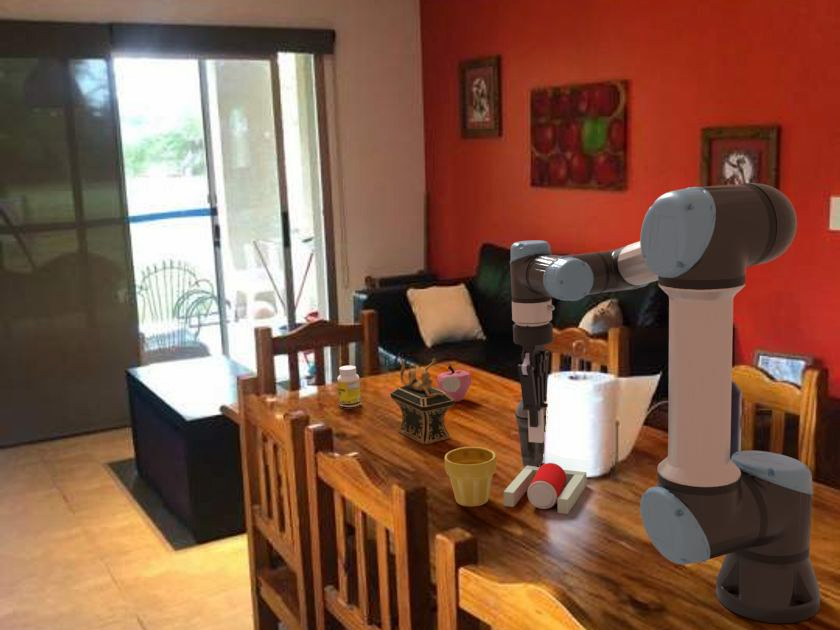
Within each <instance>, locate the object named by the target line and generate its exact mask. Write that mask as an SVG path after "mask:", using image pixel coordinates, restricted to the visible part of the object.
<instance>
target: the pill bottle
mask: <svg viewBox="0 0 840 630" xmlns="http://www.w3.org/2000/svg"><path fill="white" fill-rule="evenodd" d="M336 379H337V380H336V381H337V394H338V395H337V396H338V406H339V405H340V406H345V407H352V406H357V405H359V404H360V405H361V403H362V398H361V384H360V376H359V374H357V367H356V366H355V365H343V366H339V375H338V376H337V378H336ZM340 406H339V407H340Z"/></svg>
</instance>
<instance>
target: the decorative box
mask: <svg viewBox="0 0 840 630" xmlns="http://www.w3.org/2000/svg"><path fill="white" fill-rule="evenodd" d="M397 357H398V358H399V359H400V361H399V364H400V365H401V368H400V373H399V379H400V381H401V383H402V385H403V386H399V387H397V388H396V389H393V391H391V392H390V397H391V399H392V400H393V402H395V403H396V404H397V405H398V406H399V408H400V410H401V415H402V417H401V422H400V425H399V427H398V429H397V432H398V433H400V434H402V435H404V436H406V437H407V438H409V439H412V440H414V441H416V442H418V443H419V444H422V445H429V443H430V444H433V442H434V443H436V442H437V443H438V442H441V441H445V440H448V439H450V438H451V436H450V433H449V431H448V430H447V427H446V425H445V416H446V413H447V412H448V411H449V410H450V409H451V408H452V407H453V406H455V403H456V402H455V401H454V399H453V398H452V397H450V396H449V395H448V394H447V393H445V392H443V391H441V390H440V389H439V388H435V387H432V384H433V379H431V375H430V372H429V369H430V368H431V367H432V365H434V364H436V363H437V362H438V360H436V357H433V359H432V360H431V363H428V365H427V366H425V368H424V371H423V372H422V374H421V376H420V377H421V380H419V379H418V378H416V376H417V370H416V369H415V368H411V369H409V371H408V377H407V378H408V382H405V380H404V373H405V370H406V365H405V361H404V360H403V359H402V358H401V356H397Z"/></svg>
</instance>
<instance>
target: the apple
mask: <svg viewBox="0 0 840 630" xmlns="http://www.w3.org/2000/svg"><path fill="white" fill-rule="evenodd" d="M447 369H448V370H449V371H444V372H441V373H440V374H438V377H437V387H438V388H437V389H438V390H441V391H443V392H445V393H447V394H448V395H449V396H450V397H452V398H453V399H454V401H455V403H459V402H461V401H462V400H464V398H465V396H466V394H467V392H468V390H469V389H470V387H471V384H472V375H471V373H470V372H469V371H466V370H462V369H457V370H454V368H453V367H452V365H450V364H449V365H448V367H447Z"/></svg>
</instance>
